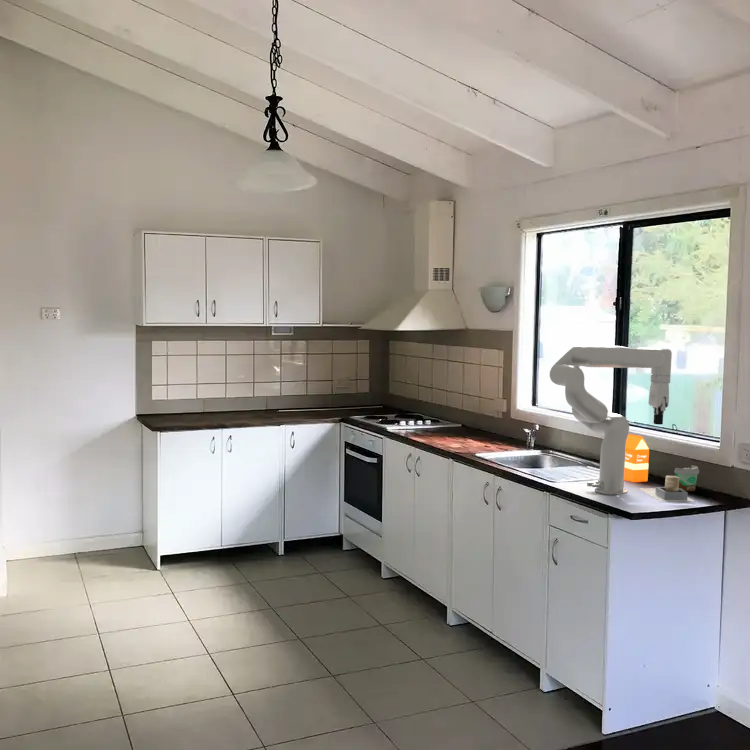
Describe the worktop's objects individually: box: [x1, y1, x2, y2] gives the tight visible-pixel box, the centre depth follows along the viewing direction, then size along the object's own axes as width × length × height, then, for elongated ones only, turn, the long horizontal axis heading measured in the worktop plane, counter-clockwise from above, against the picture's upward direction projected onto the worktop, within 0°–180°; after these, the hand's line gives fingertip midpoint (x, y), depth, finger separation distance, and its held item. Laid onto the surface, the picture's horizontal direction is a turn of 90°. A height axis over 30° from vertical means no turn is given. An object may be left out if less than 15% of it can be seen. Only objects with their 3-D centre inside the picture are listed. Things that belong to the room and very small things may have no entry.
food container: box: [673, 464, 700, 492], centre depth 335 cm, size 12×6×10 cm, turn 126°
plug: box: [664, 475, 679, 492], centre depth 320 cm, size 5×5×8 cm
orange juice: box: [624, 433, 650, 483], centre depth 353 cm, size 8×9×20 cm
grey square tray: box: [655, 486, 689, 500], centre depth 321 cm, size 9×9×3 cm
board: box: [638, 487, 695, 502], centre depth 326 cm, size 14×22×1 cm, turn 2°
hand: (658, 424), depth 336 cm, fingers closed
